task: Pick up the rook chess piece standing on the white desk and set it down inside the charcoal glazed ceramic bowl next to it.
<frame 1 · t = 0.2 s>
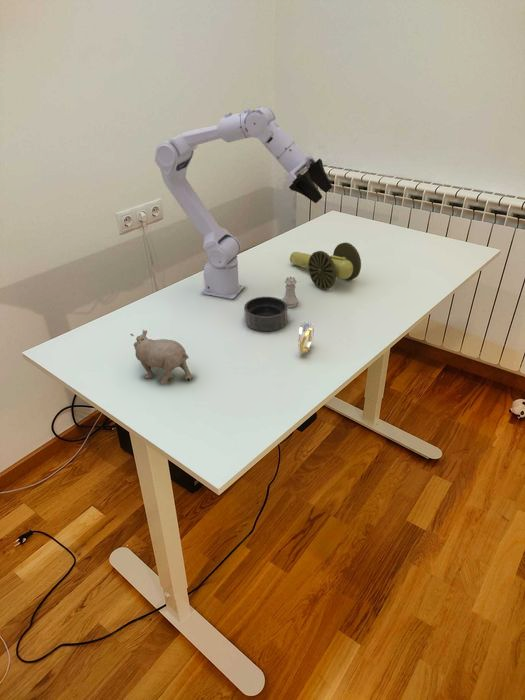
hand: (324, 195, 121), 31 cm above the table, tool tilted 45°, fingers open, 7 cm apart
brown animal figurine: (159, 371, 115), on the table
rook chess piece: (290, 305, 140), on the table
bowl: (265, 321, 132), on the table
cannon: (320, 277, 155), on the table
ring: (305, 352, 121), on the table
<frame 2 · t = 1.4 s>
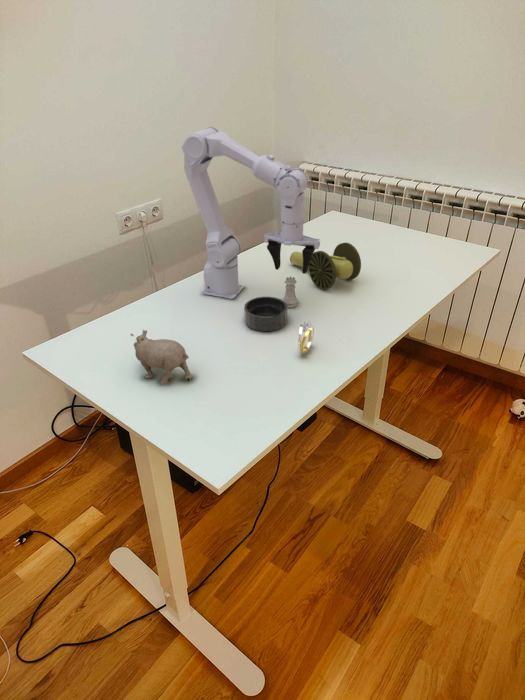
hand: (291, 270, 134), 11 cm above the table, tool pointing down, fingers open, 7 cm apart
nothing on the table moved.
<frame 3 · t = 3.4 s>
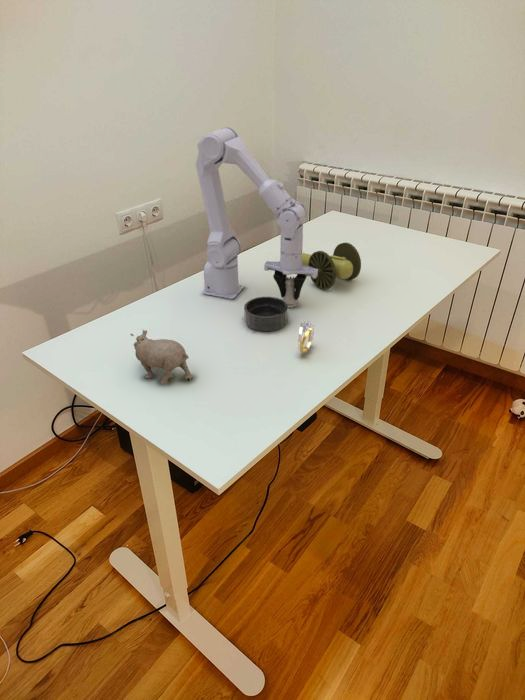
hand: (290, 296, 139), 2 cm above the table, tool pointing down, fingers closed on rook chess piece, 3 cm apart
rook chess piece: (290, 305, 140), on the table, touching gripper
everything else where it was.
when the fingers open (3 cm above the table, at t = 7.6 s): rook chess piece stays where it is, resting on bowl.
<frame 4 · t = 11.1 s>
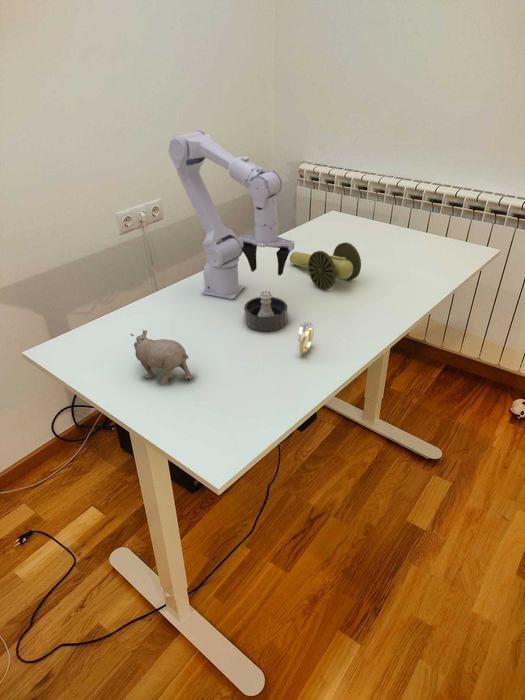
hand: (267, 272, 133), 10 cm above the table, tool pointing down, fingers open, 7 cm apart
rook chess piece: (266, 320, 132), resting on bowl
everything else where it was.
at the end: rook chess piece inside the target area in the bowl (0.0 cm from its centre), point 0.4 cm above the bowl's base; the gripper is holding nothing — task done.
